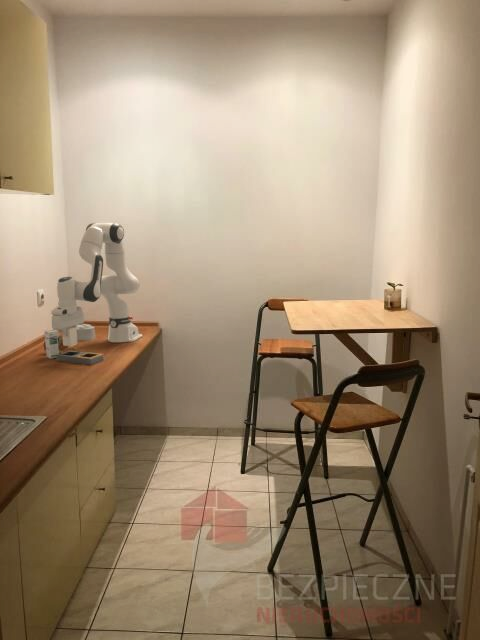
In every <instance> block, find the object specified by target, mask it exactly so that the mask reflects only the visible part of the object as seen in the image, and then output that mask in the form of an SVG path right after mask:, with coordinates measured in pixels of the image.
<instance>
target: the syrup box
mask: <svg viewBox="0 0 480 640" xmlns="http://www.w3.org/2000/svg"><path fill="white" fill-rule="evenodd" d="M43 332H44V342H45V344H46V351H45V352H46V357H47V358H48V359H57V355H58V354H61V353H62V351H60V341H59V336H60V330H54V329H47V330H44V331H43Z"/></svg>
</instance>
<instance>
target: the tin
mask: <svg viewBox="0 0 480 640" xmlns="http://www.w3.org/2000/svg"><path fill="white" fill-rule="evenodd" d="M59 341H60V352H63V351H64V352H65V351H66V350H68V348H69V347H70V346H63V336H62V335H59ZM43 349H44V351H45V352H46V344H45V341H44V342H43Z"/></svg>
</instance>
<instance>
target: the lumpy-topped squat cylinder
mask: <svg viewBox="0 0 480 640" xmlns="http://www.w3.org/2000/svg"><path fill="white" fill-rule="evenodd" d="M95 328H96V327H95V326H93V325H91V324H88V323H82V324H79V325H77V329H76V331H77V342H82V341H83V342H84V341H85V342H86V341H92V340H95V339H96V331H95Z"/></svg>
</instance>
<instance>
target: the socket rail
mask: <svg viewBox="0 0 480 640" xmlns="http://www.w3.org/2000/svg"><path fill="white" fill-rule="evenodd" d="M104 360H105V359H104V353H97V352H89V351H88V352H85V351H77V350H68V351H64V352H61V354H58V355H57V358H56V361H58V362H64V363H65V362H66V363H73V364H81V365H88V366H91V365H95V364H97V363H101V362H103V361H104Z"/></svg>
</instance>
